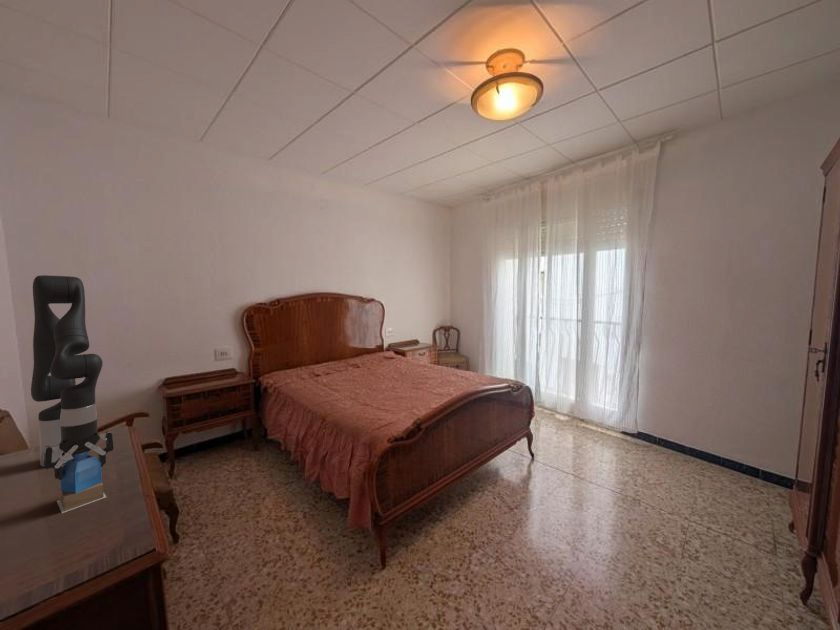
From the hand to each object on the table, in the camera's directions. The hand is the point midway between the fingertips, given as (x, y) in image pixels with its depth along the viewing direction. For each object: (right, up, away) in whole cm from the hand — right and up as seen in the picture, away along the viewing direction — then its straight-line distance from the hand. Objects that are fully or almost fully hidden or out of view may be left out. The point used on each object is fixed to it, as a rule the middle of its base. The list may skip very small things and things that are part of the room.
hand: (81, 472), depth 96 cm
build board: (0, -10, +1) cm, 10 cm away
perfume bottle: (0, -5, 0) cm, 5 cm away
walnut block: (0, -8, 0) cm, 8 cm away
